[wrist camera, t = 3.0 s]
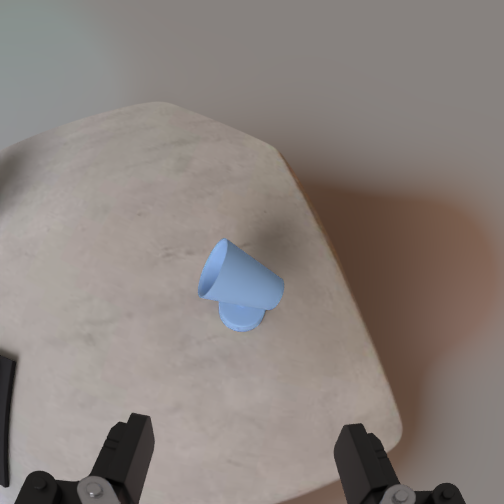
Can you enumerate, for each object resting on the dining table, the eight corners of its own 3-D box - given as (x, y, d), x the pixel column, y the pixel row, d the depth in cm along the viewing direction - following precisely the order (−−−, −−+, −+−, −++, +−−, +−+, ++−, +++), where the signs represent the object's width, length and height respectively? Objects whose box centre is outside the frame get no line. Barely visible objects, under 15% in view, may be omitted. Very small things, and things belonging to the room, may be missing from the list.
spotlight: (197, 324, 28) (267, 339, 28) (187, 280, 20) (289, 301, 19) (209, 280, 31) (274, 293, 31) (205, 222, 22) (296, 240, 22)
